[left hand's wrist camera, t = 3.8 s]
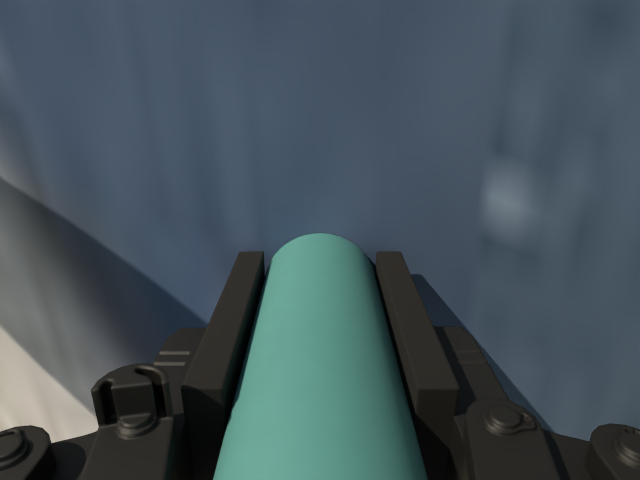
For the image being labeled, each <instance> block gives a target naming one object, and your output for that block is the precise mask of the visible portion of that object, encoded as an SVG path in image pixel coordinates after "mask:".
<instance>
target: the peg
mask: <svg viewBox="0 0 640 480" xmlns="http://www.w3.org/2000/svg"><path fill="white" fill-rule="evenodd" d="M213 480H428V478H427V474H426V470H425V466H424V462H423V458H422V455H421V451H420V447H419V443H418V439H417V435H416V432H415V428H414V424H413V420H412V416H411V412H410V409H409V405H408V401H407V397H406V393H405V389H404V386H403V382H402V378H401V374H400V370H399V366H398V363H397V359H396V355H395V351H394V347H393V343H392V340H391V336H390V332H389V328H388V324H387V320H386V316H385V313H384V309H383V305H382V301H381V297H380V293H379V290H378V286H377V282H376V278H375V274H374V271H373V268H372V265H371V263H370V261H369V259H368V258H367V256H366V255H365V253H364V252H363V251H362V250H361V249H360V248H359V247H357V246H356V245H355V244H354V243H352V242H350V241H349V240H347V239H345V238H342V237H339V236H336V235H332V234H324V233H317V234H309V235H304V236H301V237H298V238H296V239H294V240H292V241H290V242H288V243H287V244H285V245H284V246H283V247H282V248H281V249H280V250H279V251H278V252H277V253H276V254H275V255H274V257H273V258H272V260H271V262H270V264H269V266H268V269H267V272H266V276H265V280H264V284H263V287H262V291H261V295H260V299H259V303H258V307H257V311H256V315H255V319H254V322H253V326H252V330H251V334H250V338H249V342H248V346H247V350H246V354H245V357H244V361H243V365H242V369H241V373H240V377H239V381H238V385H237V389H236V392H235V396H234V400H233V404H232V408H231V412H230V416H229V420H228V424H227V427H226V431H225V435H224V439H223V443H222V447H221V451H220V455H219V458H218V462H217V466H216V470H215V474H214V478H213Z"/></svg>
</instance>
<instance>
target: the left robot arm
mask: <svg viewBox="0 0 640 480" xmlns="http://www.w3.org/2000/svg"><path fill="white" fill-rule="evenodd" d="M264 280H265V270H264V252H239V255H238V257H237V259H236V261H235V264H234V266H233V268H232V271H231V273H230V275H229V278H228V280H227V282H226V285H225V287H224V289H223V292H222V294H221V296H220V298H219V301H218V303H217V305H216V308H215V310H214V312H213V315H212V317H211V319H210V322H209V324H208V326H207V328H180V329H179V330H178V331H176V332H175V333H174V334H172V335H171V336H170V337H169V338H167V339H166V341H165V343H164V345H163V346H162V348H161V350H160V352H159V355H157V357H156V359H155V361H154V362H153V364H133V365H128V366H124V367H121V368H119V369H116V370H114V371H112V372H109V373H108V374H106V375H105V376H104V377H102V378H101V379H99V380H98V381H97V382H96V384H95V385H94V387H93V388H92V389H91V393H92V398H93V402H94V407H95V411H96V416H97V421H98V425H99V428H98V431H96V432H94V433H91V434H87V435H84V436H80V437H76V438H72V439H68V440H63V441H59V442H55V443H51V440H50V436H49V434H48V433H47V432H46V431H45V430H44V429H43V428H40V427H36V426H31V425H30V426H19V427H14V428H11V429H7V430H4V431H1V432H0V480H213V478H214V474H215V470H216V466H217V462H218V458H219V455H220V451H221V447H222V443H223V439H224V435H225V431H226V427H227V424H228V420H229V416H230V412H231V408H232V404H233V400H234V396H235V392H236V389H237V385H238V381H239V377H240V373H241V369H242V365H243V361H244V357H245V354H246V350H247V346H248V342H249V338H250V334H251V330H252V326H253V322H254V319H255V315H256V311H257V307H258V303H259V299H260V295H261V291H262V287H263V284H264ZM376 282H377V286H378V290H379V293H380V297H381V301H382V305H383V309H384V313H385V316H386V320H387V324H388V328H389V332H390V336H391V340H392V343H393V347H394V351H395V355H396V359H397V363H398V366H399V370H400V374H401V378H402V382H403V386H404V389H405V393H406V397H407V401H408V405H409V409H410V412H411V416H412V420H413V424H414V428H415V432H416V435H417V439H418V443H419V447H420V451H421V455H422V458H423V462H424V466H425V470H426V474H427V478H428V480H640V429H636V428H633V427H630V426H627V425H620V424H606V425H601V426H598V427H597V428H596V429H595V430H594V431H593V432H592V434H591V438H590V442H589V441H585V440H581V439H576V438H572V437H568V436H564V435H559V434H556V433H553V432H549V431H546V430H544V429H542V428H541V426H540V424H539V422H538V421H537V419H536V418H535V416H533V415H532V414H531V413H530V412H529V411H527V410H526V409H525V408H524V407H521V406H519V405H517V404H515V403H513V402H511V401H510V400H509V399H508V397H507V395H506V393H505V392H504V390H503V388H502V386H501V384H500V383H499V381H498V379H497V377H496V376H495V374H494V372H493V370H492V369H491V367H490V365H489V364H488V363H487V360H486V358H485V356H484V354H483V353H481V349H480V347H479V346H478V344H477V342H476V340H475V339H474V337H473V336H471V335H470V334H469V333H467V332H466V331H465V330H464V329H462V328H461V327H433V325H432V323H431V321H430V318H429V316H428V314H427V311H426V309H425V307H424V304H423V302H422V300H421V298H420V295H419V293H418V291H417V288H416V286H415V284H414V281H413V279H412V277H411V274H410V272H409V270H408V268H407V265H406V263H405V261H404V258H403V256H402V254H401V252H377V257H376Z"/></svg>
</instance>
